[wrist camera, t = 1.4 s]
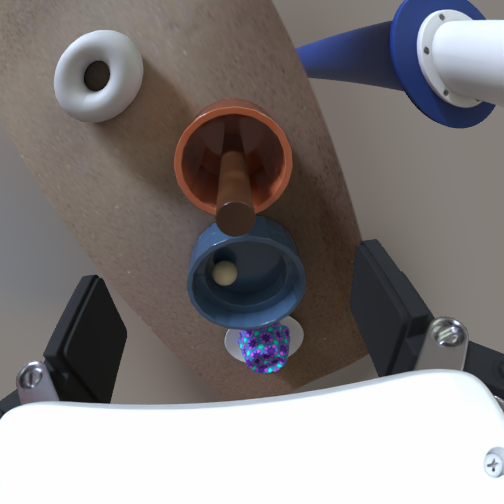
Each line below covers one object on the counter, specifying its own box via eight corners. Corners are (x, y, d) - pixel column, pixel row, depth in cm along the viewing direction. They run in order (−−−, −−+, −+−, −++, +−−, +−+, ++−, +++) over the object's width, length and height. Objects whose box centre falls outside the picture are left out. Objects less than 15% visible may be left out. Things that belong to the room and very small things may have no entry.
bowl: (295, 206, 36) (305, 229, 31) (298, 294, 43) (306, 322, 38) (181, 220, 36) (174, 245, 31) (203, 306, 43) (200, 335, 38)
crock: (272, 93, 29) (288, 101, 21) (280, 176, 34) (295, 211, 26) (182, 105, 29) (164, 117, 21) (196, 187, 34) (186, 225, 26)
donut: (150, 26, 24) (63, 39, 23) (141, 21, 21) (48, 38, 20) (146, 116, 29) (64, 124, 28) (138, 122, 26) (49, 130, 25)
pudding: (257, 369, 51) (259, 394, 47) (208, 335, 46) (207, 362, 42) (316, 337, 48) (324, 362, 44) (272, 295, 43) (277, 322, 38)
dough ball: (235, 254, 38) (235, 268, 36) (238, 273, 40) (239, 289, 37) (210, 257, 38) (209, 271, 36) (214, 276, 40) (214, 291, 37)
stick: (241, 131, 30) (253, 198, 15) (243, 149, 31) (257, 234, 16) (221, 134, 30) (212, 204, 15) (224, 152, 31) (218, 239, 16)
